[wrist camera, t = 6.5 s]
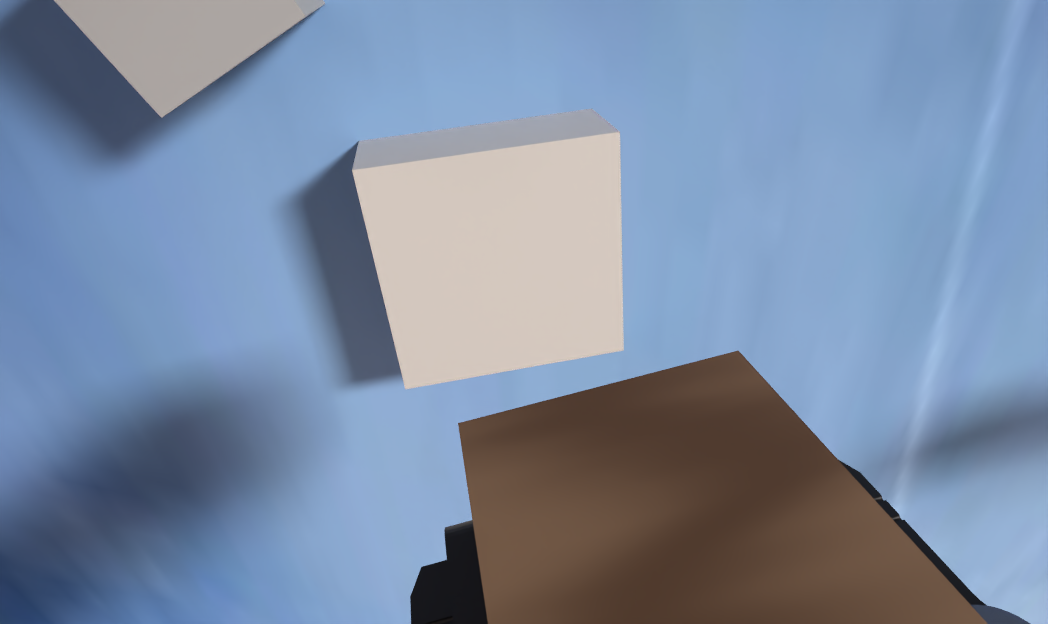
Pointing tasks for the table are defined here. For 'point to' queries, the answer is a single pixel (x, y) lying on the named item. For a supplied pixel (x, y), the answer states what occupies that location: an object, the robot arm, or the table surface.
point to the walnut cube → (685, 512)
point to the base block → (496, 243)
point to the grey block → (181, 39)
